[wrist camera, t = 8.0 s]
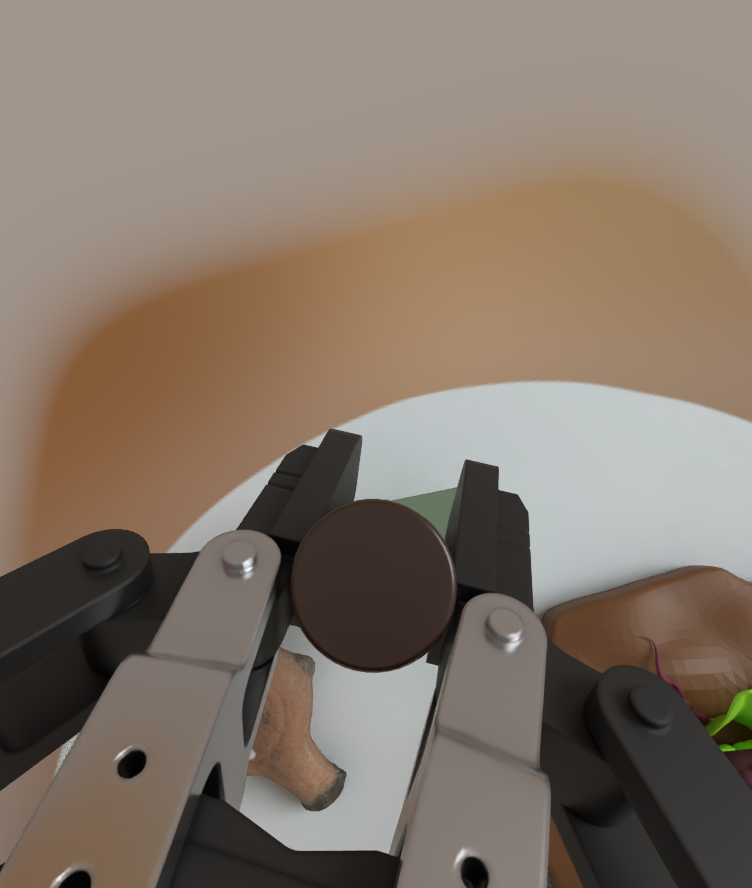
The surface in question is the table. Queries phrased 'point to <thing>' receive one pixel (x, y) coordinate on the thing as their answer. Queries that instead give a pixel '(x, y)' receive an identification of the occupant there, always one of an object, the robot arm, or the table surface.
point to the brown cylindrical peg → (373, 585)
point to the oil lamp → (294, 737)
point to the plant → (669, 656)
